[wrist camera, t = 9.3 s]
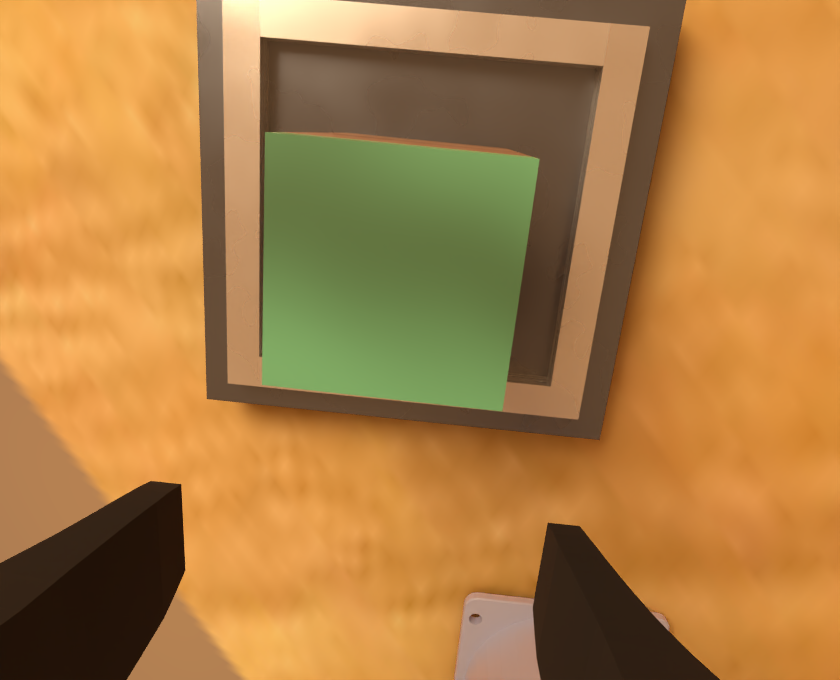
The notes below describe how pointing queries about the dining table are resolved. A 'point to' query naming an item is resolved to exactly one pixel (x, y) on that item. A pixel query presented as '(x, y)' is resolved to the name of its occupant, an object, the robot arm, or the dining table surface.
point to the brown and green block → (393, 266)
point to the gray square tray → (454, 123)
